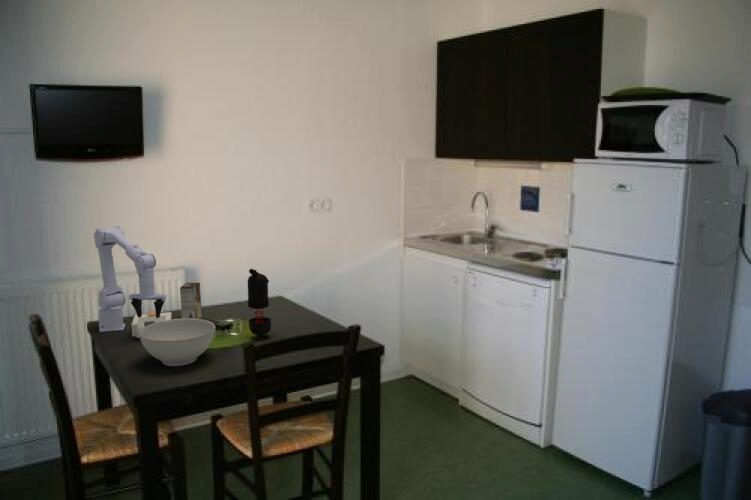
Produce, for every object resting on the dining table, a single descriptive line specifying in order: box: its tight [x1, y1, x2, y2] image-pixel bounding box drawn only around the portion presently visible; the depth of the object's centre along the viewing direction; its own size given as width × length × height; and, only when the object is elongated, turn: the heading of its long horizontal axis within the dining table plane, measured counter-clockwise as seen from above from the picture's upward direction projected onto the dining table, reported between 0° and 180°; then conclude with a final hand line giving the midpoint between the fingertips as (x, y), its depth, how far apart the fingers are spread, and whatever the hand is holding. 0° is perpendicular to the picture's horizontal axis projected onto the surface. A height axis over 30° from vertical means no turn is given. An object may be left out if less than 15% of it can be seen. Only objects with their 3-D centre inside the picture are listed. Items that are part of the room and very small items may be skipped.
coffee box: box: [179, 282, 203, 319], centre depth 280 cm, size 9×6×16 cm
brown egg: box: [146, 310, 156, 316], centre depth 271 cm, size 4×4×4 cm
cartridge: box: [136, 321, 155, 339], centre depth 257 cm, size 10×10×6 cm
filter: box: [247, 268, 272, 339], centre depth 255 cm, size 14×9×30 cm
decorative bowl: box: [139, 317, 216, 367], centre depth 230 cm, size 27×27×12 cm
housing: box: [131, 311, 172, 337], centre depth 266 cm, size 15×15×5 cm
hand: (149, 317), depth 252 cm, fingers open, 7 cm apart
